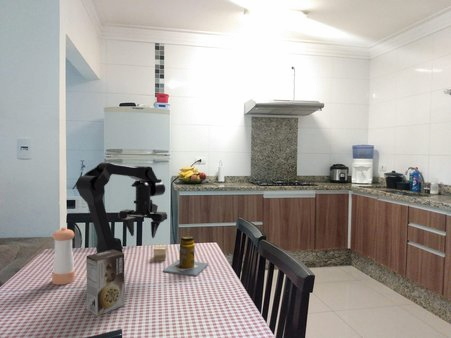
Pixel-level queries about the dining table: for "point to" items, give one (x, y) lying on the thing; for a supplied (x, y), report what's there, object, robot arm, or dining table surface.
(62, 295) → the dining table surface
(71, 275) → the pepper shaker
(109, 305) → the cookie box
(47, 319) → the dining table surface
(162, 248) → the beech cube
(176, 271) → the plate
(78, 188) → the robot arm
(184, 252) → the condiment
